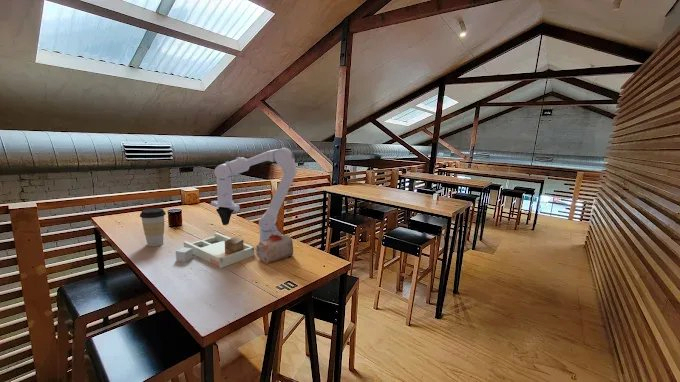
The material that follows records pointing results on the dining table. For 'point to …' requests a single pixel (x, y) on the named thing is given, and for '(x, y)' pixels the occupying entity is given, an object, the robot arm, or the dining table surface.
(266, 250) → the grey-brown rough block
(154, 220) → the coffee cup
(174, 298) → the dining table surface
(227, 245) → the walnut block
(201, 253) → the tray
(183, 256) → the grey block
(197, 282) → the dining table surface
